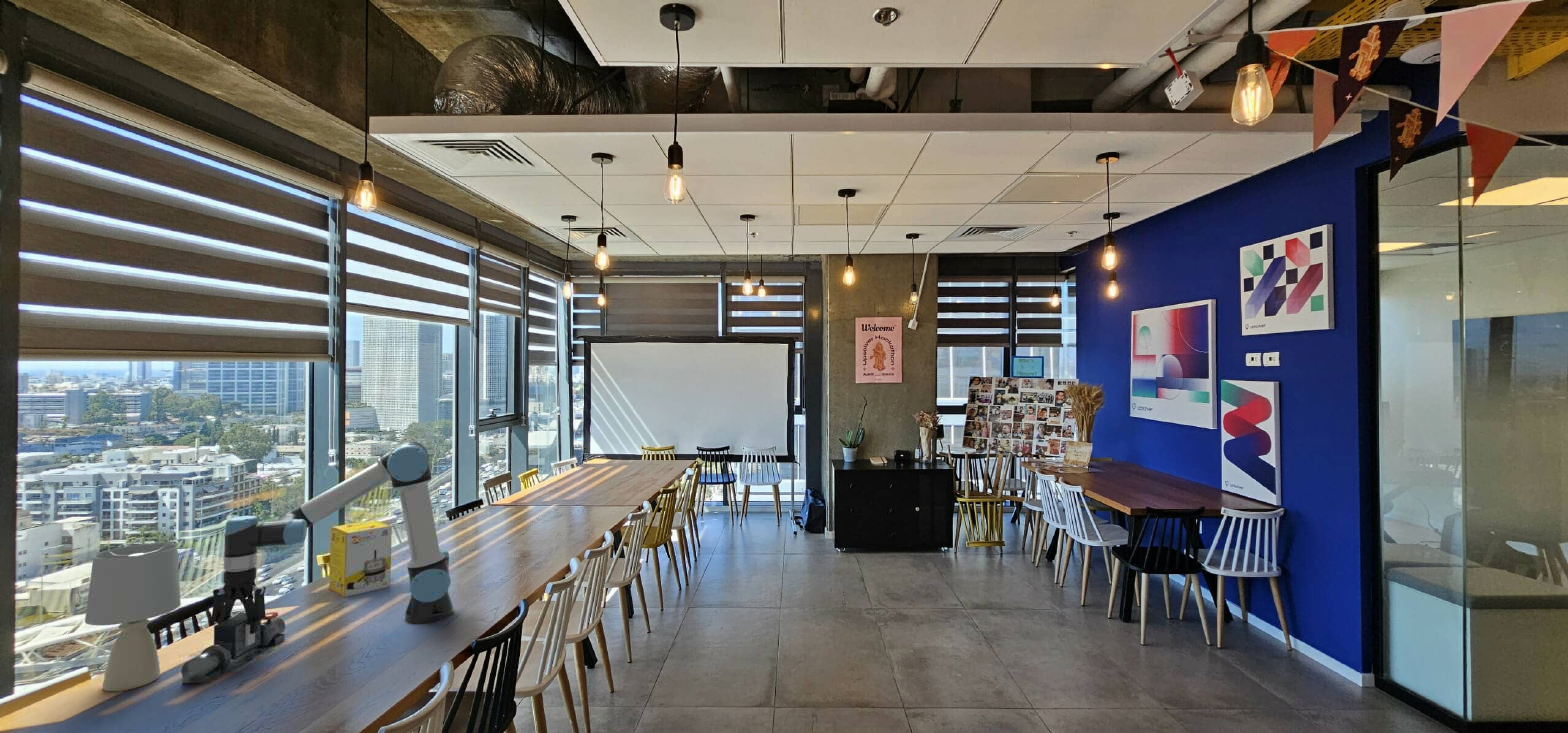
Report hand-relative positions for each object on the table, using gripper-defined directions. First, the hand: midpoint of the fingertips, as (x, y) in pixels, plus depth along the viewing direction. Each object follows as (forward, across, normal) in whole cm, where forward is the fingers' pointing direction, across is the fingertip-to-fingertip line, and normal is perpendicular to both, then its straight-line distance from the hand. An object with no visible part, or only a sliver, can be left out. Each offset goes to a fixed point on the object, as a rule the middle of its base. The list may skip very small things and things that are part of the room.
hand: (237, 644), depth 188 cm
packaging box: (+5, +3, -66) cm, 66 cm away
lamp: (+5, +18, +13) cm, 23 cm away
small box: (+3, 0, 0) cm, 3 cm away
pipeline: (+5, 0, 0) cm, 5 cm away
